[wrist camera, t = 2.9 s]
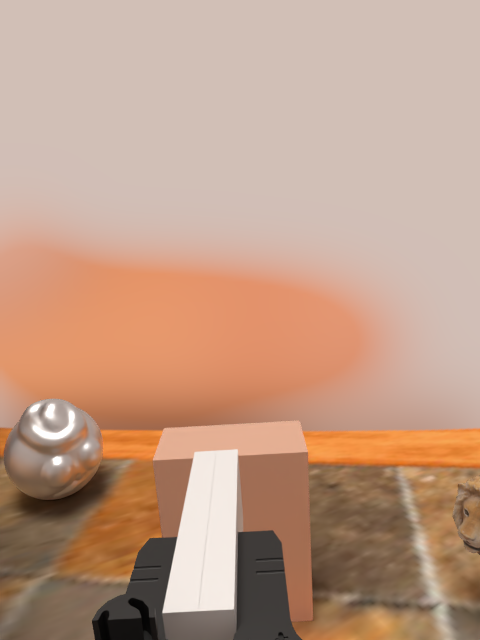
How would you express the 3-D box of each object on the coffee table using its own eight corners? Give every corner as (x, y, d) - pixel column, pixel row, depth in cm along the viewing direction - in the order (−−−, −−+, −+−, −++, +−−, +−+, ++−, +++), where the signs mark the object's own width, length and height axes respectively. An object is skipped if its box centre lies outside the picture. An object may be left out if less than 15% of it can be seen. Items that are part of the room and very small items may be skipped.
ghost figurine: (-2, 533, 40) (-26, 427, 37) (27, 473, 49) (10, 385, 46) (105, 515, 41) (89, 412, 39) (114, 460, 50) (102, 374, 48)
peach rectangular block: (181, 578, 34) (164, 428, 31) (305, 572, 33) (299, 420, 30) (173, 627, 30) (152, 460, 27) (313, 620, 29) (307, 451, 27)
